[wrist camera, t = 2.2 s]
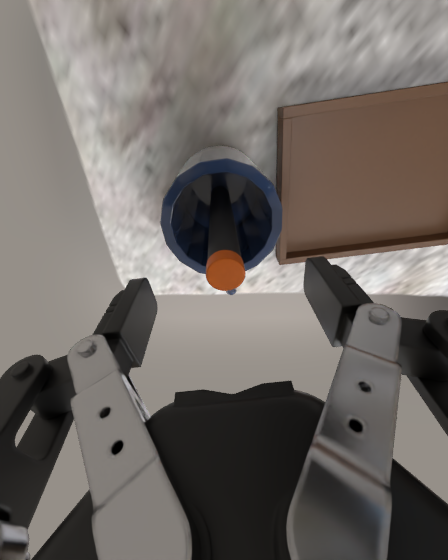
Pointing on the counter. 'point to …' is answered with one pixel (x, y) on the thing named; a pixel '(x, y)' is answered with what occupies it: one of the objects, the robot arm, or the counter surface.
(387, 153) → the tray
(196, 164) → the mug
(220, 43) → the counter surface
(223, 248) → the marker
